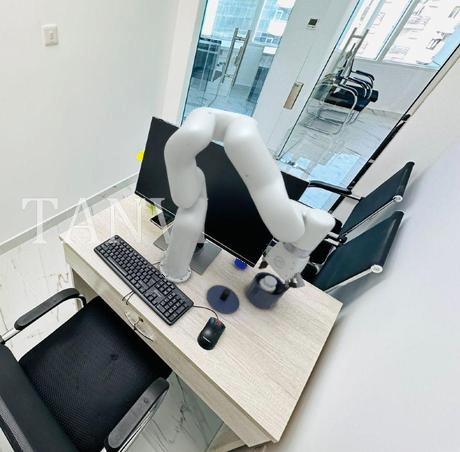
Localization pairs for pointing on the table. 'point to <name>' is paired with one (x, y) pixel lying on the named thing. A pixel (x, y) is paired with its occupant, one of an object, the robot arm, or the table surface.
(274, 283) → the supplement bottle
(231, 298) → the lid
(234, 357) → the table surface
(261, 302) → the pot
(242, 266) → the beverage can
